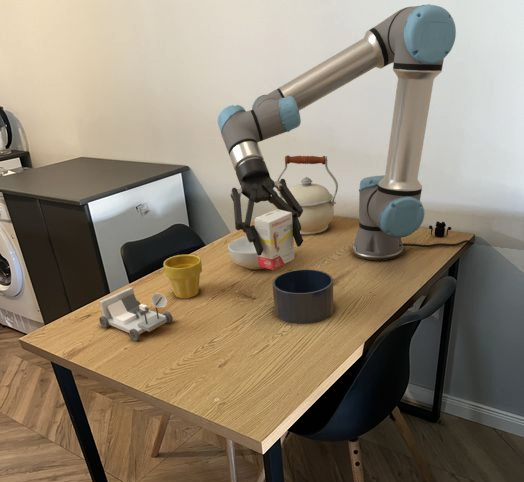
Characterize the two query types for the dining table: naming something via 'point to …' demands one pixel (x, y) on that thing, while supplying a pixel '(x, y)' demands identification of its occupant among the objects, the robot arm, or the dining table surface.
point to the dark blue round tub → (303, 296)
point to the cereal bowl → (243, 253)
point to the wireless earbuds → (440, 229)
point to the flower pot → (184, 274)
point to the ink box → (275, 238)
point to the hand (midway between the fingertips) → (280, 248)
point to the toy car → (133, 313)
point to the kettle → (312, 197)
